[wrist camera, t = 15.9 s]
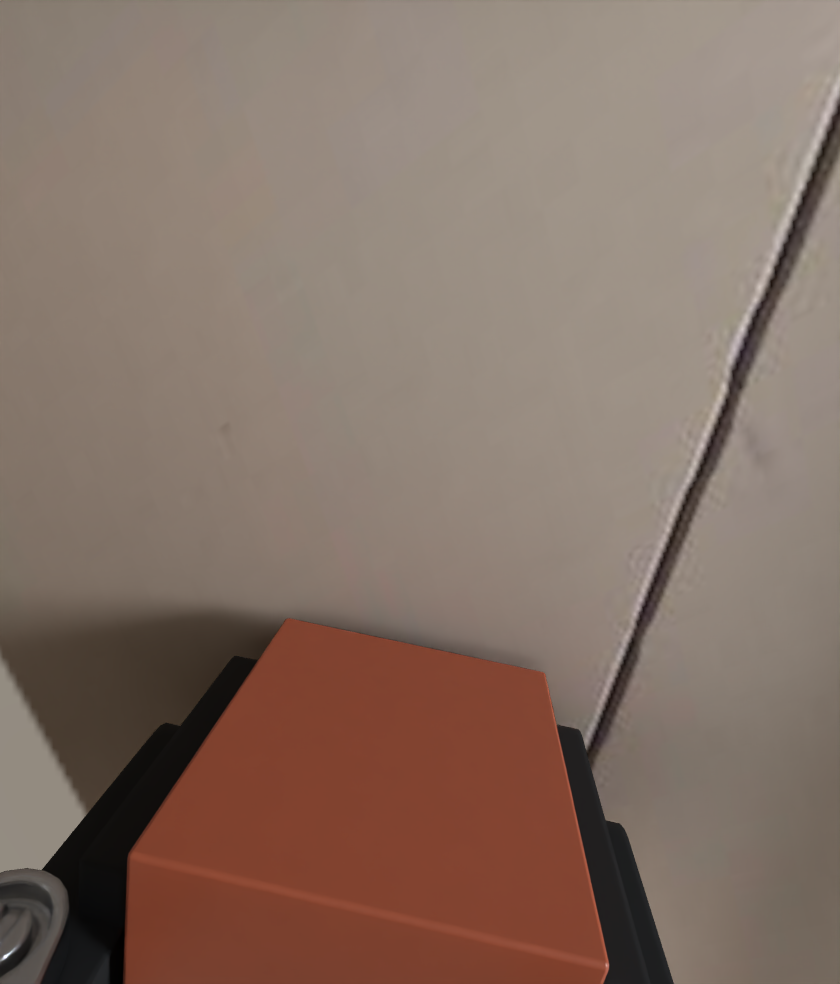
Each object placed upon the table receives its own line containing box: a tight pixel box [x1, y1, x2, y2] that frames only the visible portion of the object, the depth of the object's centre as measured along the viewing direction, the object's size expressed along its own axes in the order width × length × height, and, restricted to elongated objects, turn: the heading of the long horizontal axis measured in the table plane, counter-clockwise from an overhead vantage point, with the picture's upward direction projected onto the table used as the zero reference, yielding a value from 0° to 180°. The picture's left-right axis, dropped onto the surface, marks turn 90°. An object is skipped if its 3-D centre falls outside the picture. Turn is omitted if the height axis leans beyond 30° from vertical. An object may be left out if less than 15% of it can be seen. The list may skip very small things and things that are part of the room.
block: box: [123, 618, 609, 984], centre depth 8 cm, size 4×4×4 cm
